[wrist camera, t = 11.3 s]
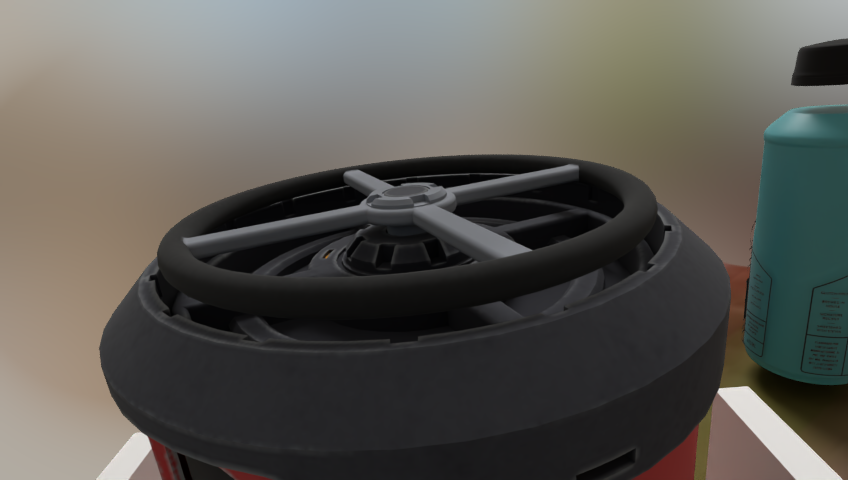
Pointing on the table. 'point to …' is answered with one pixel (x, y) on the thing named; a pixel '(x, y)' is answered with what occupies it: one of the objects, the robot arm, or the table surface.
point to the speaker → (426, 328)
